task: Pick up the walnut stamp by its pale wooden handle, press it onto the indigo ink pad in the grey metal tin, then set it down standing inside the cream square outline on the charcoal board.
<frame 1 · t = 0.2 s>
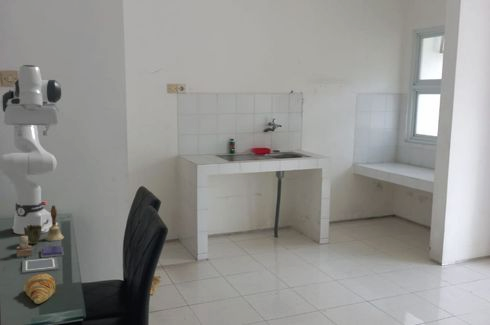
hand: (32, 135, 190), 51 cm above the table, tool tilted 20°, fingers open, 8 cm apart
target board: (40, 265, 188), on the table
hand bell: (54, 238, 222), on the table
cup: (33, 244, 213), on the table
croissant: (39, 294, 164), on the table
stamp: (24, 254, 199), on the table
ink pad: (52, 252, 202), on the table
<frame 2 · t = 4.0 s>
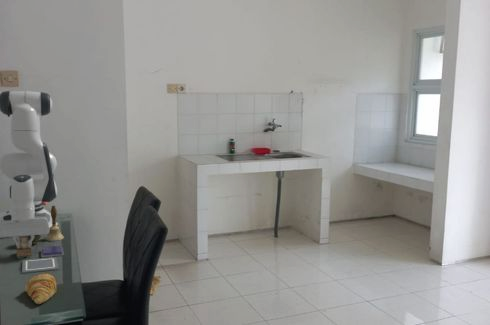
hand: (24, 245, 198), 4 cm above the table, tool pointing down, fingers closed on stamp, 3 cm apart
stamp: (24, 254, 199), on the table, touching gripper
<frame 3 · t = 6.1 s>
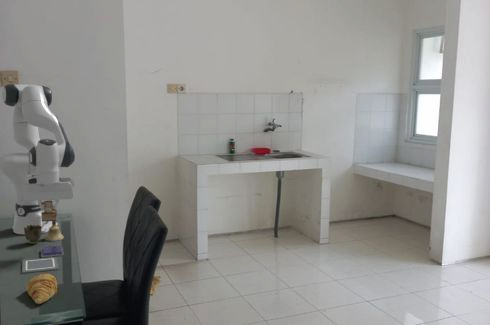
hand: (48, 210, 199), 19 cm above the table, tool pointing down, fingers closed on stamp, 3 cm apart
stamp: (48, 219, 200), point 15 cm above the table, touching gripper
everything else where it was.
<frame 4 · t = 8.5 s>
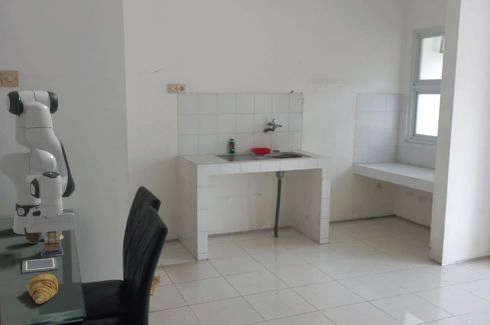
hand: (51, 240, 202), 5 cm above the table, tool pointing down, fingers closed on stamp, 3 cm apart
stamp: (52, 249, 202), point 2 cm above the table, touching gripper, ink pad
everything else where it was.
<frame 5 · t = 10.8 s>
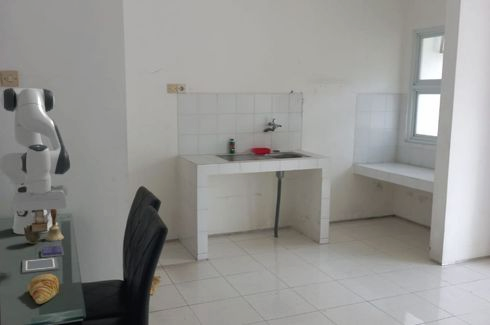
hand: (39, 220, 185), 19 cm above the table, tool pointing down, fingers closed on stamp, 3 cm apart
stamp: (39, 230, 185), point 15 cm above the table, touching gripper
when the fingers open (5 cm above the table, at t = 13.0 s): stamp stays where it is, resting on target board.
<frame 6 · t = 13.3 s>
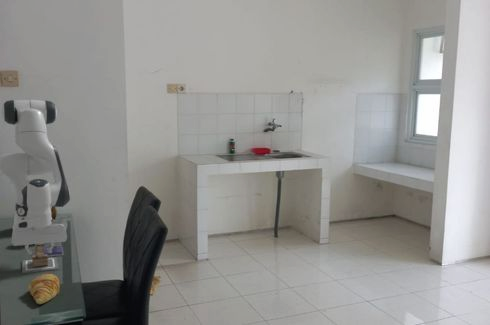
hand: (39, 253, 187), 5 cm above the table, tool pointing down, fingers open, 6 cm apart
stamp: (40, 264, 188), point 1 cm above the table, touching target board
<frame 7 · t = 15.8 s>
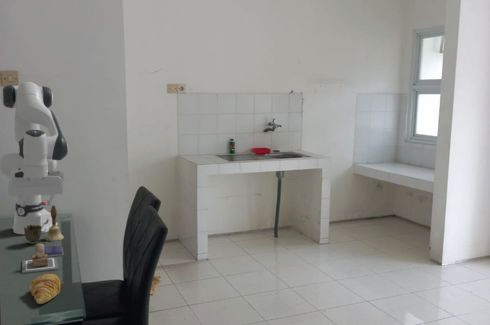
hand: (36, 205, 186), 24 cm above the table, tool pointing down, fingers open, 8 cm apart
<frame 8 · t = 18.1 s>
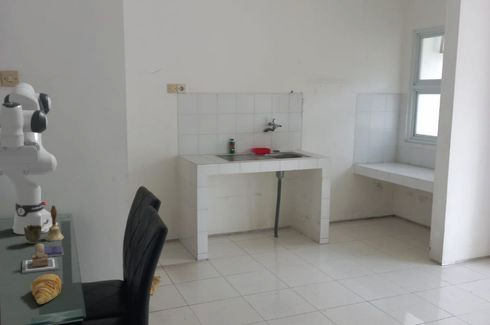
hand: (13, 174, 196), 34 cm above the table, tool pointing down, fingers open, 8 cm apart
at the end: stamp 0.1 cm off-centre on the target board, point 0.6 cm above the target board's base; stamp tilted 0°; the gripper is holding nothing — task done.
